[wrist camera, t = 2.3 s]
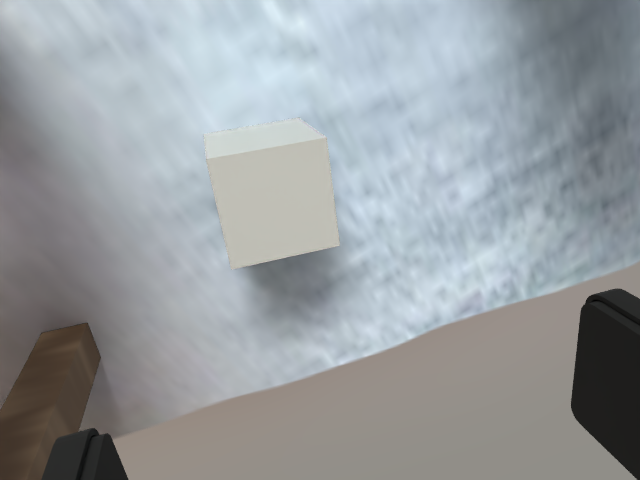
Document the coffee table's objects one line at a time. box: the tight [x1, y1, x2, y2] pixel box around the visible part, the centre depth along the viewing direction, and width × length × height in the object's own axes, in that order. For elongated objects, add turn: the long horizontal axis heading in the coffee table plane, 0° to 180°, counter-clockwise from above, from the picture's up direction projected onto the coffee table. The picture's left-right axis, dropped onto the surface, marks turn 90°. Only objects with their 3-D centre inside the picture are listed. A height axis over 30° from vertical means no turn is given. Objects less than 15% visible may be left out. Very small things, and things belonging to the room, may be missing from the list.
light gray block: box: [204, 118, 340, 270], centre depth 23 cm, size 5×5×6 cm
